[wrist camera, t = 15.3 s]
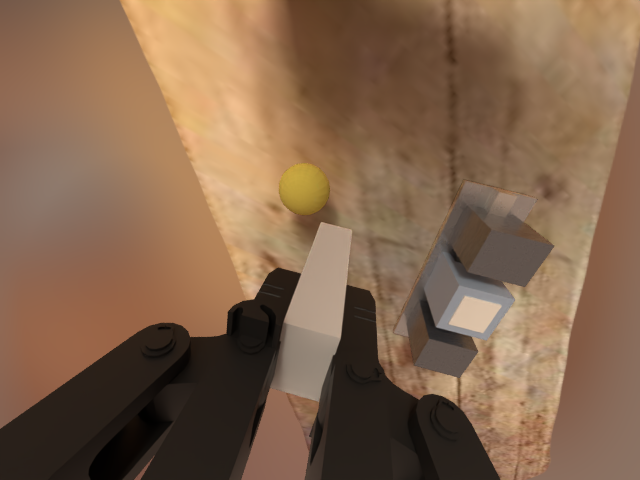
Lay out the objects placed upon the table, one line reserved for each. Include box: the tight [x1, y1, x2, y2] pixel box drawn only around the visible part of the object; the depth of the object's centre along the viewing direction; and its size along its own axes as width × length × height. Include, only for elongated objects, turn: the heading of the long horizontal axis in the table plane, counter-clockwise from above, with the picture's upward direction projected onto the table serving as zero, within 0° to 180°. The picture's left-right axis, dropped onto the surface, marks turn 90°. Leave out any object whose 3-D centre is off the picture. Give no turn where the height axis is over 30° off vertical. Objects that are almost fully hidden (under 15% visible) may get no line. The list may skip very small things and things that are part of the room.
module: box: [424, 252, 515, 340], centre depth 40 cm, size 8×7×9 cm
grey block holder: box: [393, 180, 554, 378], centre depth 41 cm, size 30×10×10 cm, turn 168°
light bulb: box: [279, 163, 330, 215], centre depth 37 cm, size 7×7×10 cm
